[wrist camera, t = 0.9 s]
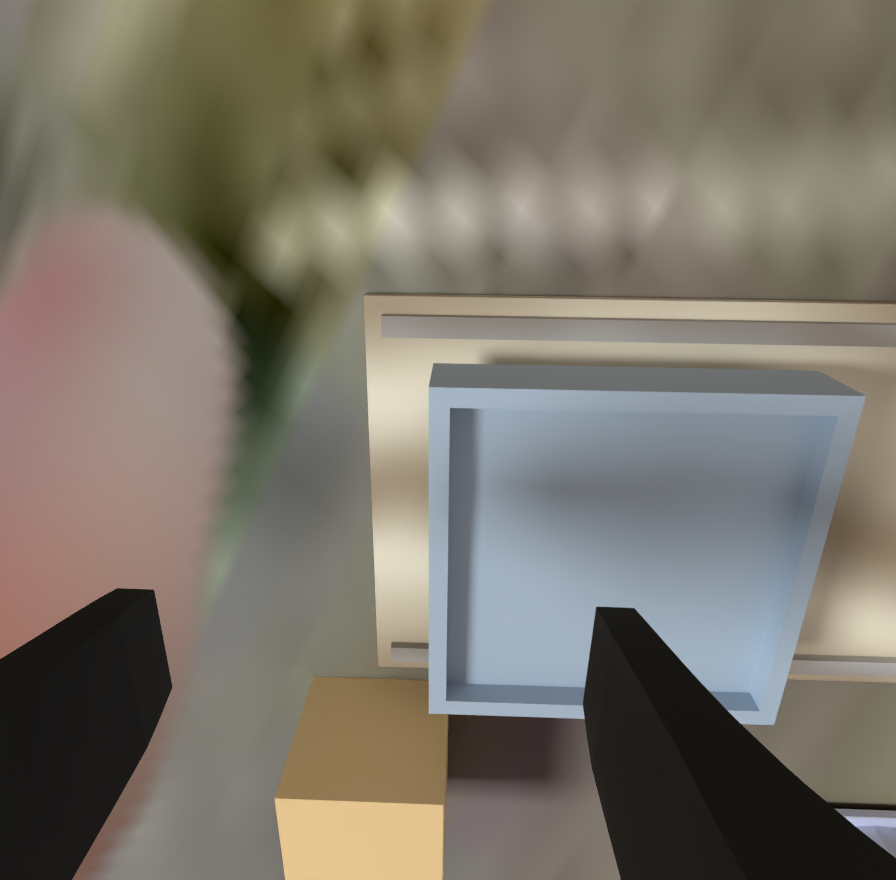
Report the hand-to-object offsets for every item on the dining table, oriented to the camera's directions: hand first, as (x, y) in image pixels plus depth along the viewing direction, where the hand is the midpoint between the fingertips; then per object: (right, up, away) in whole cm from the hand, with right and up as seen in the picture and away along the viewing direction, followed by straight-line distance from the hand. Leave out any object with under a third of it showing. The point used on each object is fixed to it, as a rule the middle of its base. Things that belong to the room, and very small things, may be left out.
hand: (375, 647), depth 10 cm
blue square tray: (+6, +1, +9) cm, 11 cm away
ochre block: (-1, -8, +14) cm, 16 cm away
